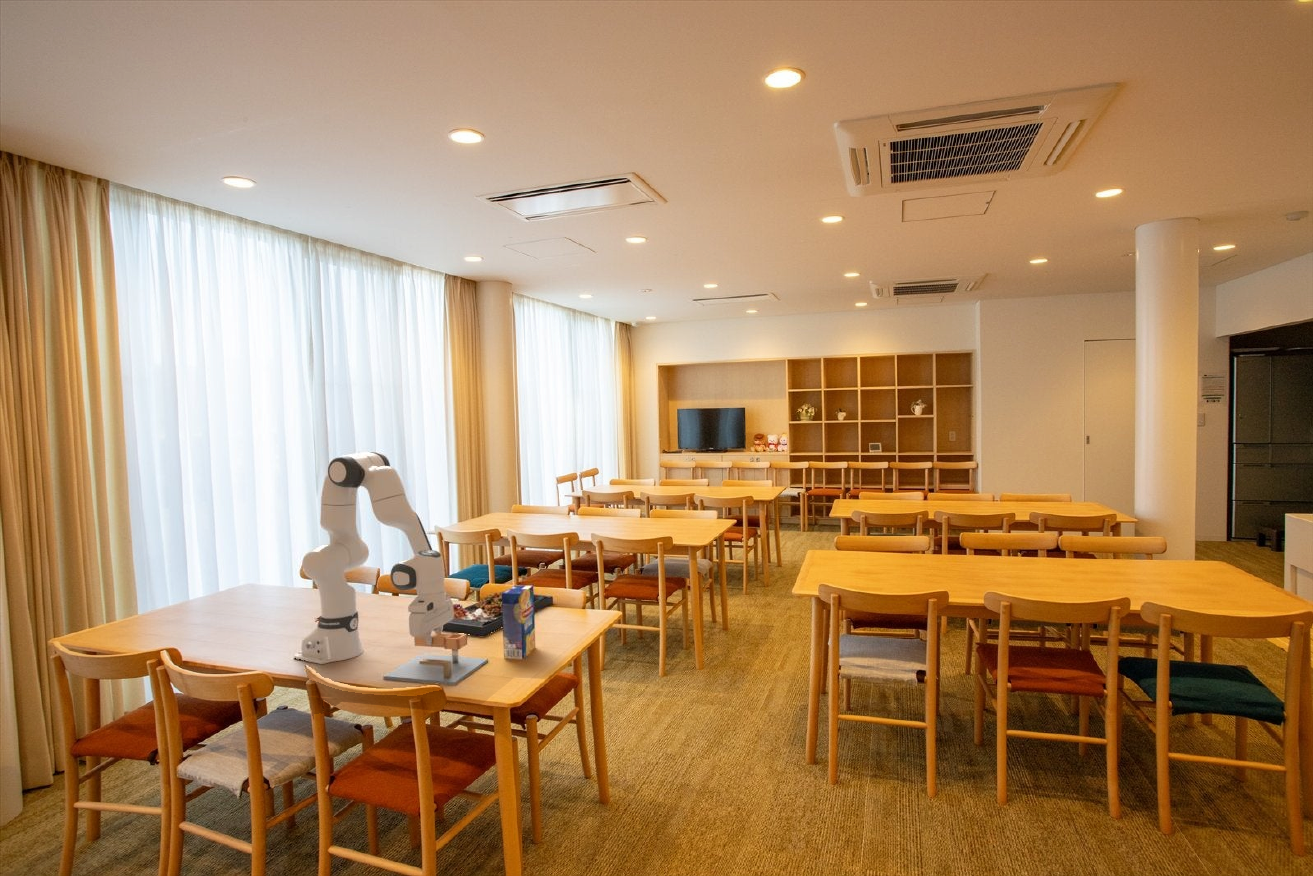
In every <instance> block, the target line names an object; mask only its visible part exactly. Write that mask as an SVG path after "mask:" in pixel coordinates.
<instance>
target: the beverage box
mask: <svg viewBox="0 0 1313 876" xmlns="http://www.w3.org/2000/svg"><path fill="white" fill-rule="evenodd" d="M502 592H503V591H502ZM534 592H535V590H534V585H526V584H525V585H524V584H523V585H518V584H515V585H512V586H511V587H510V588H507V589H506V590H504V592H503V593H502V618H503V628H502V634H503V635H502V640H503V641H502V645H503V659H504V658H524V657H525V656H526V655H527V656H528V655H530V653H532V652H531V650H533V649H534V648H535V649H536V627H535V626H536V625H535V623H536V621H535V612H534V594H535V593H534ZM535 649H534V650H535ZM534 650H533V651H534ZM527 656H526V657H527ZM526 657H525V658H526ZM525 658H524V659H525Z"/></svg>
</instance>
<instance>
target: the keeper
mask: <svg viewBox="0 0 1313 876" xmlns="http://www.w3.org/2000/svg"><path fill="white" fill-rule="evenodd" d="M420 664H423V665H435V666H443V673H444V678H445V679H448V678H450V677H451V676H452V672H451V661H446V660H433V659H422V660H420Z"/></svg>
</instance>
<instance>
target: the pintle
mask: <svg viewBox="0 0 1313 876" xmlns="http://www.w3.org/2000/svg"><path fill="white" fill-rule="evenodd" d="M451 656H452V663H458V662H459V658H458V657H459V650H457V649H451Z"/></svg>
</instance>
